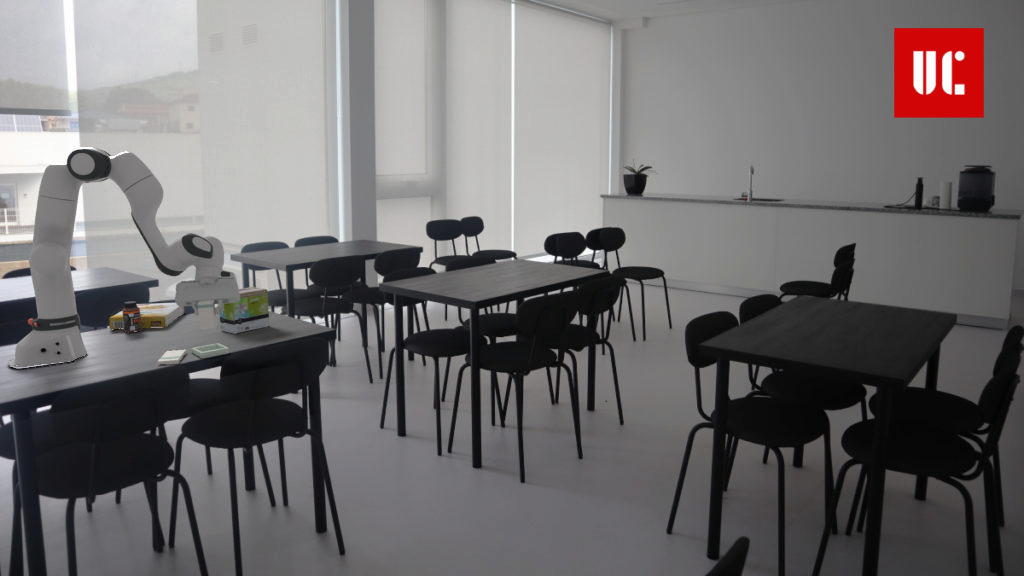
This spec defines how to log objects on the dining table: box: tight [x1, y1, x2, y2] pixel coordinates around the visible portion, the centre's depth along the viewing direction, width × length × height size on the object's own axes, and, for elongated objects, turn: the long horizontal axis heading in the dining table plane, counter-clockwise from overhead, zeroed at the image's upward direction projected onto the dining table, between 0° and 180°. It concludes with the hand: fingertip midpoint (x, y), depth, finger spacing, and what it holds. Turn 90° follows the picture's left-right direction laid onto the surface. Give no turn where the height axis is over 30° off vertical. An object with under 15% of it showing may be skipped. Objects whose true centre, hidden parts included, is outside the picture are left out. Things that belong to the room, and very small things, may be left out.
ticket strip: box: [157, 348, 187, 366], centre depth 251 cm, size 6×13×1 cm, turn 11°
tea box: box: [218, 286, 270, 335], centre depth 290 cm, size 15×10×15 cm, turn 143°
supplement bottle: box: [121, 300, 143, 333], centre depth 289 cm, size 6×6×11 cm
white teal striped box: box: [197, 300, 218, 331], centre depth 255 cm, size 5×4×9 cm
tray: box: [191, 343, 230, 359], centre depth 257 cm, size 9×9×2 cm
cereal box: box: [108, 302, 185, 331], centre depth 307 cm, size 20×6×28 cm
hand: (206, 314), depth 254 cm, fingers closed on white teal striped box, 4 cm apart
